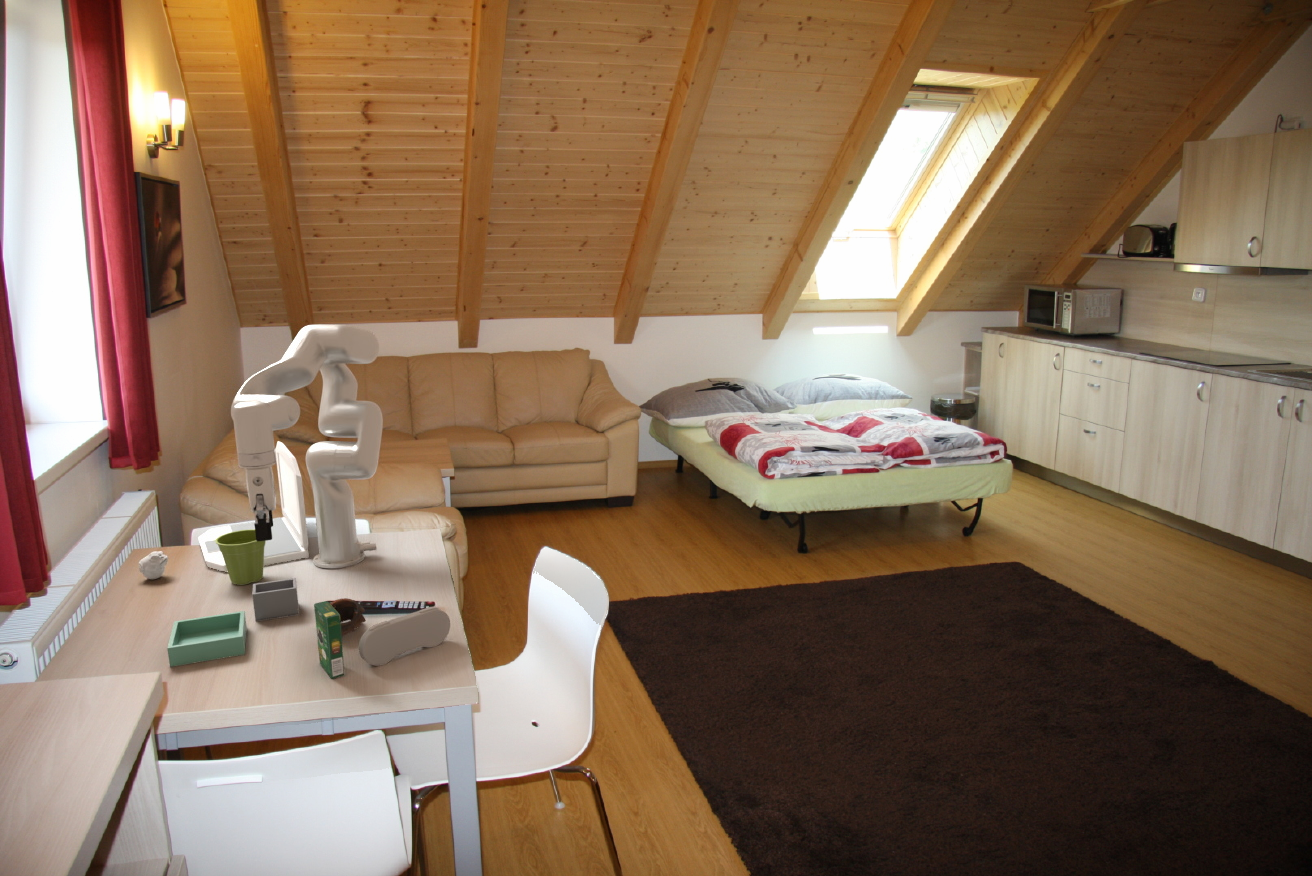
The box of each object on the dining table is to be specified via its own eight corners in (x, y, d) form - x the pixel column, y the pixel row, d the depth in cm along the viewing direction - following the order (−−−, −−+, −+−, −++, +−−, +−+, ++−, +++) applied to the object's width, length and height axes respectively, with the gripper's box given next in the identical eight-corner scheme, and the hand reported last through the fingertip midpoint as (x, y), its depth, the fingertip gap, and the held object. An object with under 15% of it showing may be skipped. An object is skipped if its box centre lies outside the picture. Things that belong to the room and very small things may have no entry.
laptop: (197, 538, 257) (185, 447, 251) (288, 524, 269) (279, 436, 263) (208, 577, 229) (195, 474, 223) (310, 558, 241) (300, 461, 235)
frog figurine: (163, 583, 224) (159, 556, 222) (134, 583, 224) (130, 556, 223) (176, 573, 230) (172, 547, 228) (148, 574, 230) (144, 547, 229)
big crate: (246, 627, 199) (244, 610, 198) (244, 654, 186) (242, 636, 185) (176, 638, 194) (174, 621, 193) (169, 666, 181) (167, 648, 181)
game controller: (446, 637, 194) (443, 600, 192) (452, 640, 192) (449, 603, 190) (359, 667, 181) (355, 628, 179) (364, 671, 179) (361, 632, 177)
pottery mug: (376, 623, 202) (373, 600, 196) (353, 657, 195) (350, 635, 189) (326, 606, 203) (322, 583, 198) (302, 640, 196) (297, 617, 191)
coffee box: (346, 676, 177) (340, 613, 174) (331, 680, 175) (325, 617, 172) (334, 660, 183) (327, 599, 180) (319, 664, 182) (312, 603, 179)
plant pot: (274, 568, 233) (269, 526, 230) (270, 585, 222) (265, 541, 219) (223, 574, 229) (218, 531, 227) (217, 592, 218) (211, 547, 216)
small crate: (298, 604, 211) (295, 578, 210) (299, 615, 205) (296, 588, 204) (256, 610, 208) (253, 584, 206) (255, 621, 202) (252, 594, 201)
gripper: (274, 466, 192) (282, 543, 196) (276, 448, 208) (283, 520, 212) (235, 469, 189) (244, 548, 193) (240, 451, 205) (248, 524, 209)
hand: (265, 533), depth 202 cm, fingers open, 9 cm apart
